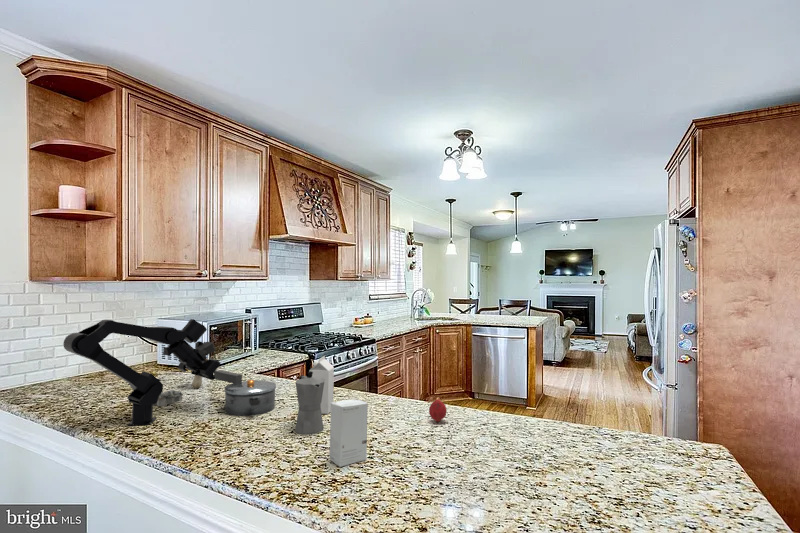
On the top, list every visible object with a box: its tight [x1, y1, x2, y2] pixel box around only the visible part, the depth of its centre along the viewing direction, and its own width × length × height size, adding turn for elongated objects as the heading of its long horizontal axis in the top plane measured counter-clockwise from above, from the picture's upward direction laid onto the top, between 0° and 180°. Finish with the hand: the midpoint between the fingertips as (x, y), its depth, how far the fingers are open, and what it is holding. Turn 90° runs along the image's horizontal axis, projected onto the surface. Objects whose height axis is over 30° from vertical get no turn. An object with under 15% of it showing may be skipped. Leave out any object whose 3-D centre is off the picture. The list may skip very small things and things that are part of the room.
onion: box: [428, 397, 447, 423], centre depth 144 cm, size 6×6×8 cm
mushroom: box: [191, 357, 209, 389], centre depth 186 cm, size 9×11×15 cm
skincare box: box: [329, 398, 369, 468], centre depth 113 cm, size 8×6×15 cm
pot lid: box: [213, 369, 277, 395], centre depth 161 cm, size 30×18×4 cm, turn 55°
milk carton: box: [308, 355, 335, 415], centre depth 155 cm, size 7×7×19 cm
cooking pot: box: [224, 389, 276, 417], centre depth 157 cm, size 25×17×7 cm
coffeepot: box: [294, 370, 324, 435], centre depth 137 cm, size 15×9×18 cm, turn 33°
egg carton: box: [153, 389, 185, 407], centre depth 165 cm, size 11×8×4 cm
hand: (213, 379), depth 162 cm, fingers closed
